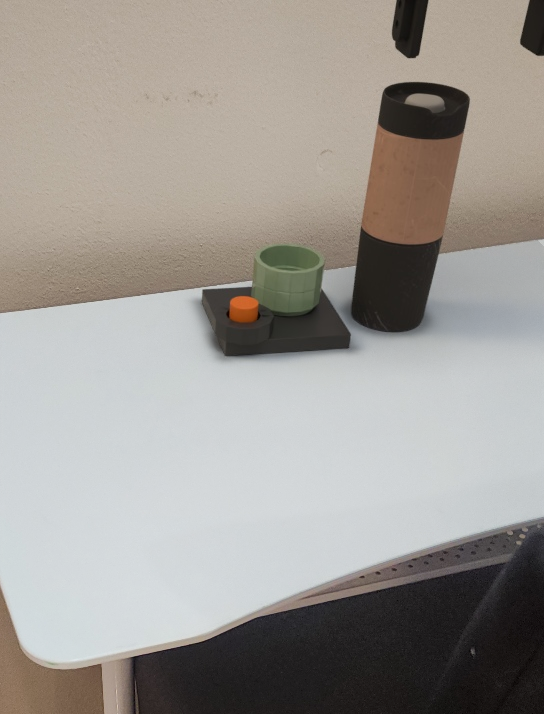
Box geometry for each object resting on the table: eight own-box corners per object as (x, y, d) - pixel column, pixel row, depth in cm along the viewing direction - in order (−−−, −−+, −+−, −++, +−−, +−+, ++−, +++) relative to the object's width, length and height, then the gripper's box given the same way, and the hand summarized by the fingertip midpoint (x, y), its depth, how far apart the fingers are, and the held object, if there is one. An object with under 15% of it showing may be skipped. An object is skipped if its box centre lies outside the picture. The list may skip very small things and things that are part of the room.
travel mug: (366, 291, 103) (401, 76, 89) (436, 310, 100) (484, 91, 86) (335, 319, 98) (367, 96, 84) (408, 341, 95) (453, 114, 81)
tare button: (253, 311, 93) (255, 295, 92) (260, 323, 91) (261, 307, 90) (226, 312, 93) (227, 296, 92) (232, 325, 91) (233, 309, 90)
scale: (316, 296, 102) (320, 267, 100) (351, 352, 93) (356, 321, 91) (194, 302, 100) (195, 273, 98) (218, 360, 91) (220, 330, 89)
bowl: (308, 286, 100) (313, 241, 97) (327, 316, 95) (333, 270, 92) (244, 289, 99) (247, 244, 96) (260, 320, 94) (264, 274, 91)
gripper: (421, -273, 56) (371, 69, 68) (700, -263, 58) (605, 65, 70) (377, -278, 61) (339, 40, 73) (636, -269, 64) (557, 36, 75)
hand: (469, 52), depth 72 cm, fingers open, 9 cm apart
